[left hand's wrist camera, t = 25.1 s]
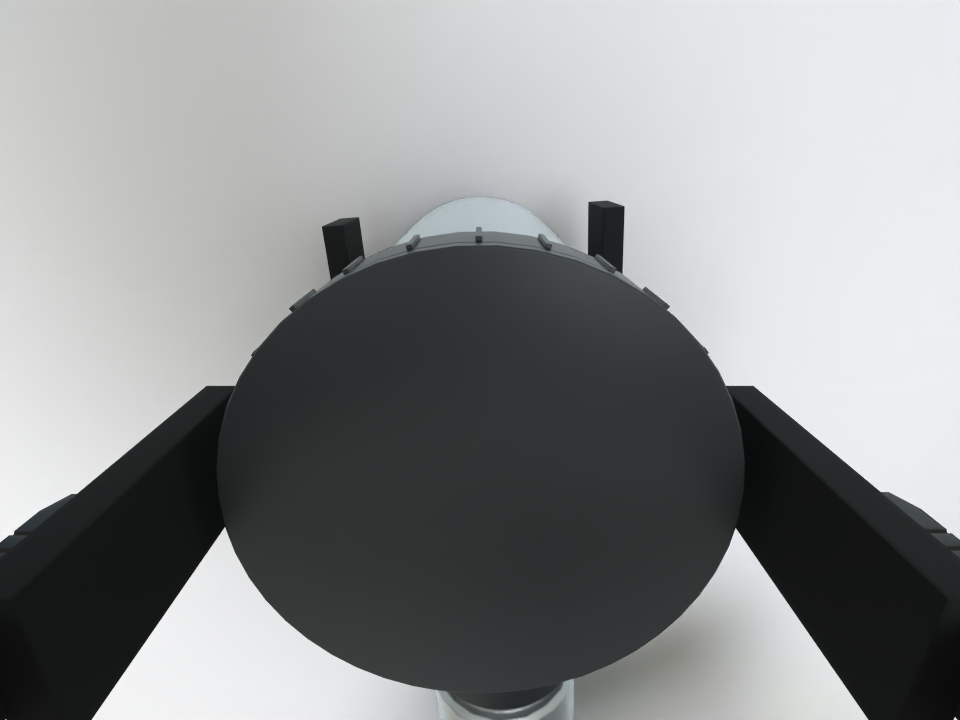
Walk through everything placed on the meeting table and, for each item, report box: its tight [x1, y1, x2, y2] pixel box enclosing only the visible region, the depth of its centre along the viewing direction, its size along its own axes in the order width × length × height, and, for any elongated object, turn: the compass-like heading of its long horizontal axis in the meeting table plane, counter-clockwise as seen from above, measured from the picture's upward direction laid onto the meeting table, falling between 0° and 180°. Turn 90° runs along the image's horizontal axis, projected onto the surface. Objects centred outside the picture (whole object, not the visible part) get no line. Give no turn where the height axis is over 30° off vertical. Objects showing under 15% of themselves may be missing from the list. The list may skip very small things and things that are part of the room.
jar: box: [394, 197, 566, 246], centre depth 19 cm, size 9×9×17 cm
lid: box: [216, 227, 745, 693], centre depth 11 cm, size 10×10×2 cm
